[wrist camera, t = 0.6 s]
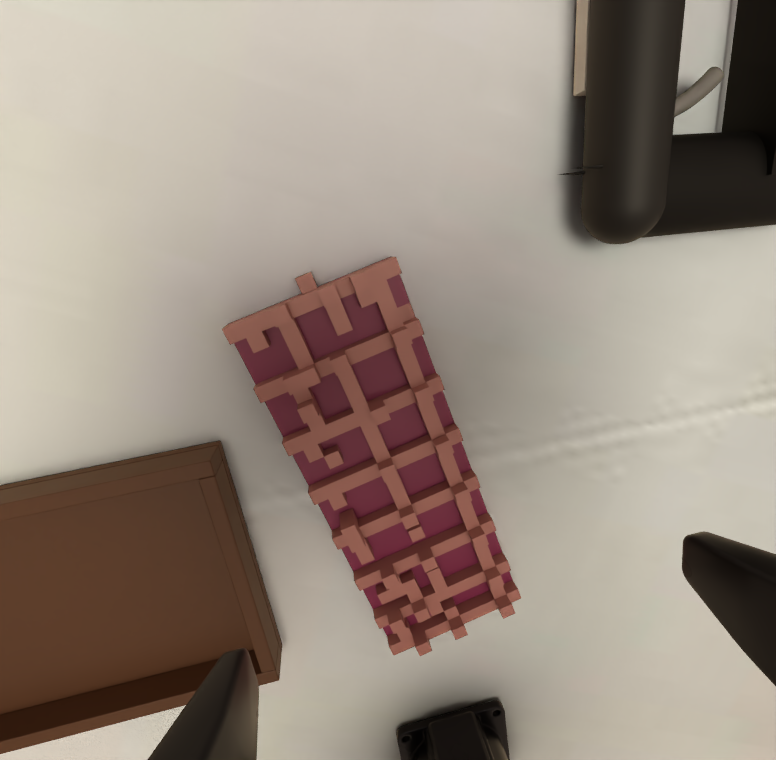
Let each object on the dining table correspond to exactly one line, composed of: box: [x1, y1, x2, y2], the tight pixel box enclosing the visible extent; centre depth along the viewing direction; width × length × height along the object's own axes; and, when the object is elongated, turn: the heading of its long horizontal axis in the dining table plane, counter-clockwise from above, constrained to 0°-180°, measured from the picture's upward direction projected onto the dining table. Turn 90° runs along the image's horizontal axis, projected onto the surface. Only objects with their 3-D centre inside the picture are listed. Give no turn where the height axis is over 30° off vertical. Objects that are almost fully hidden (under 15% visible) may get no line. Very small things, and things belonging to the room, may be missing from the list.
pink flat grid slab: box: [222, 257, 521, 656], centre depth 20 cm, size 7×19×2 cm, turn 22°
